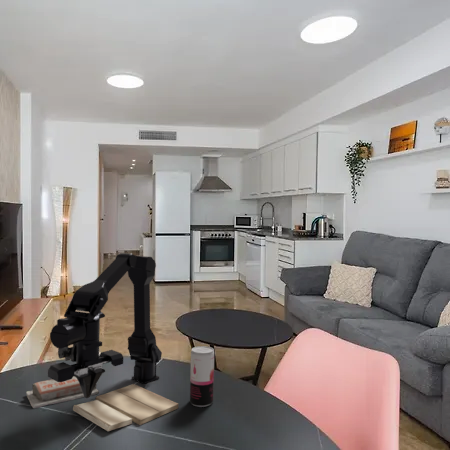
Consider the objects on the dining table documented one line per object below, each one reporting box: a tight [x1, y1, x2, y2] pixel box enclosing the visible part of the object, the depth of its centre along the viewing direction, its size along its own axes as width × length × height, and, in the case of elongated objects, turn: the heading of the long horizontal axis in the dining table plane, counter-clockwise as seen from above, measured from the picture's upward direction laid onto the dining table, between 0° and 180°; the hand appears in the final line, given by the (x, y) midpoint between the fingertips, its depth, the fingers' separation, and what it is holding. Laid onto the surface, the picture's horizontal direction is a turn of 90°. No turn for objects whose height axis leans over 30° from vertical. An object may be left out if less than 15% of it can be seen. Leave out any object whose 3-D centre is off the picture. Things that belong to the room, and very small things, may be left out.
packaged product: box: [26, 376, 100, 409], centre depth 122 cm, size 18×5×10 cm
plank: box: [72, 399, 133, 432], centre depth 108 cm, size 7×16×1 cm, turn 49°
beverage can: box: [189, 345, 215, 408], centre depth 119 cm, size 6×6×15 cm
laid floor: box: [95, 383, 180, 426], centre depth 117 cm, size 13×20×1 cm, turn 49°
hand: (86, 397), depth 109 cm, fingers closed
